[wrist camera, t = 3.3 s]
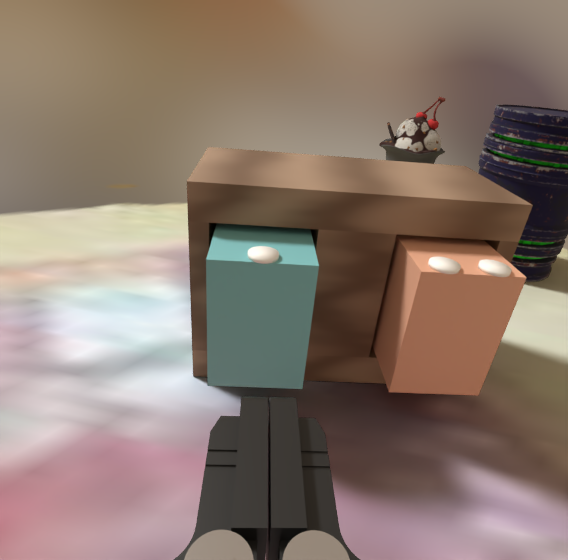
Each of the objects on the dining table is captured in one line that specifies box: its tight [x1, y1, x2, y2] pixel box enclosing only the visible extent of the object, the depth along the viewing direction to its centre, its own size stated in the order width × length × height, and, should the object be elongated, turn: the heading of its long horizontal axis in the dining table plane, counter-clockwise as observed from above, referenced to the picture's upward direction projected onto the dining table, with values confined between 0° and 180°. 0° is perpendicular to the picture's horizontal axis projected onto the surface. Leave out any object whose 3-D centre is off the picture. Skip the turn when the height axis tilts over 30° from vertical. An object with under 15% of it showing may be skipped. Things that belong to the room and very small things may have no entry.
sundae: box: [380, 97, 445, 164], centre depth 46 cm, size 7×7×15 cm
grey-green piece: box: [206, 223, 319, 389], centre depth 22 cm, size 5×6×7 cm
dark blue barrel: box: [478, 105, 568, 282], centre depth 41 cm, size 10×10×15 cm
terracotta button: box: [372, 234, 527, 395], centre depth 23 cm, size 5×6×7 cm
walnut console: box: [187, 147, 533, 384], centre depth 26 cm, size 17×8×12 cm, turn 92°
